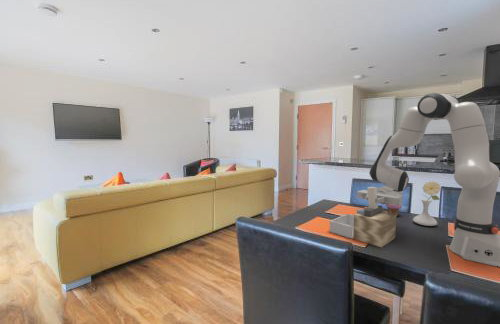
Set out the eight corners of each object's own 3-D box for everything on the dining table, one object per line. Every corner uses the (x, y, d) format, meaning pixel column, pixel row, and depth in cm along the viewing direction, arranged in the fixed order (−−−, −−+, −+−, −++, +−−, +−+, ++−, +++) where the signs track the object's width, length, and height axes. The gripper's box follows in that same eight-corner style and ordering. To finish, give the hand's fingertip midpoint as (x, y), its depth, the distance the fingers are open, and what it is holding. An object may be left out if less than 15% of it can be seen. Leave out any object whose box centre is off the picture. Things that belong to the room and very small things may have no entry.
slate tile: (368, 213, 123) (368, 210, 123) (364, 215, 120) (365, 211, 120) (360, 211, 126) (360, 208, 126) (356, 213, 123) (356, 210, 123)
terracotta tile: (375, 210, 128) (375, 207, 127) (371, 212, 125) (371, 209, 125) (367, 209, 131) (367, 206, 130) (363, 210, 128) (363, 207, 128)
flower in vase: (407, 222, 147) (410, 179, 145) (422, 220, 151) (425, 178, 148) (429, 229, 135) (433, 183, 133) (445, 227, 139) (448, 182, 136)
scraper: (382, 210, 126) (380, 185, 126) (370, 216, 117) (368, 189, 117) (376, 210, 128) (374, 185, 128) (364, 215, 120) (362, 189, 120)
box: (368, 230, 134) (368, 219, 134) (351, 238, 123) (352, 226, 122) (347, 224, 143) (347, 213, 143) (329, 232, 132) (329, 220, 131)
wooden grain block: (395, 238, 124) (396, 214, 123) (381, 247, 113) (382, 221, 112) (368, 230, 133) (369, 208, 132) (353, 238, 123) (354, 214, 122)
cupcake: (386, 216, 158) (387, 200, 157) (383, 212, 166) (384, 197, 165) (402, 217, 155) (403, 201, 154) (399, 213, 163) (400, 198, 162)
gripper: (364, 186, 139) (351, 189, 130) (406, 192, 123) (395, 196, 114) (363, 197, 139) (350, 201, 130) (405, 205, 124) (394, 210, 115)
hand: (371, 199), depth 122 cm, fingers closed on scraper, 3 cm apart
